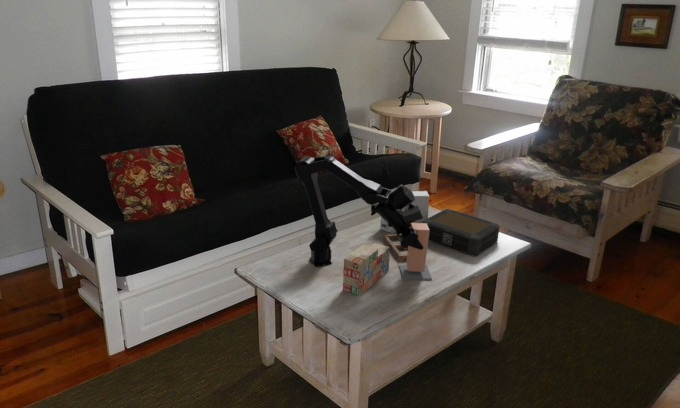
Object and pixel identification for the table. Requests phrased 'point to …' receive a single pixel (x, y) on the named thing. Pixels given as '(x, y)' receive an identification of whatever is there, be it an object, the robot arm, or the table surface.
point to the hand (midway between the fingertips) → (421, 245)
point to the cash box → (462, 232)
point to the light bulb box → (384, 224)
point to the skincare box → (421, 204)
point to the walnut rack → (395, 246)
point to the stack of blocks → (365, 267)
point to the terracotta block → (417, 256)
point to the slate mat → (414, 274)
